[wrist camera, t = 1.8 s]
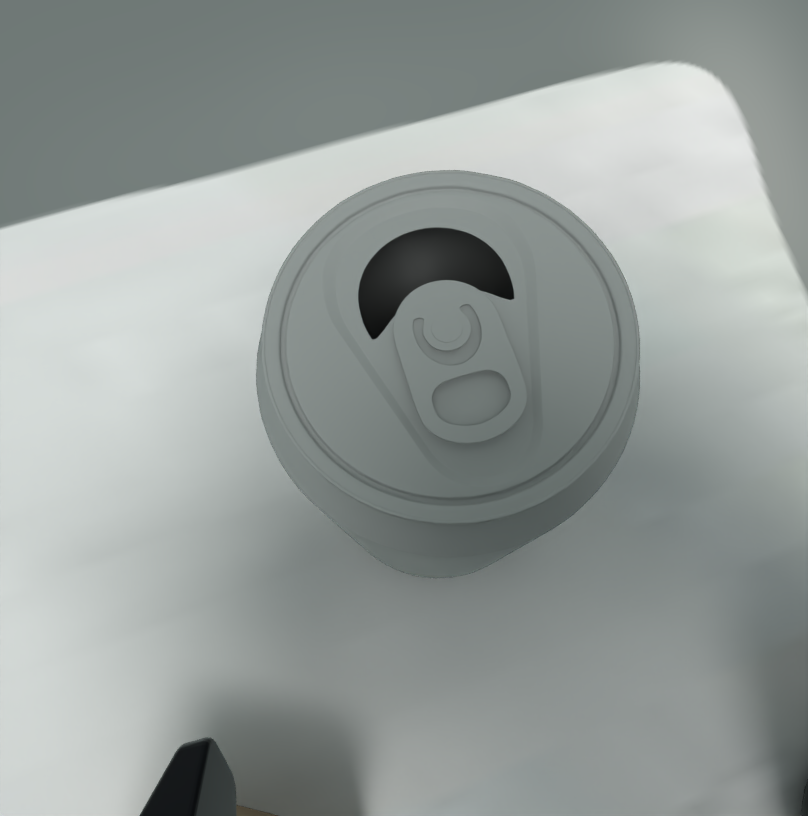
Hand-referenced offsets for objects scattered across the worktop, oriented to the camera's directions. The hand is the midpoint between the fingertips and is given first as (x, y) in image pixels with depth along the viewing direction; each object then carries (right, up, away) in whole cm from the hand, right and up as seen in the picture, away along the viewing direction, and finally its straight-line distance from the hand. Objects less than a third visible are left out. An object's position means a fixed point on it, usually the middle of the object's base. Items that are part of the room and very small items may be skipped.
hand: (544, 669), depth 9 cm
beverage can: (-1, +1, +13) cm, 13 cm away
